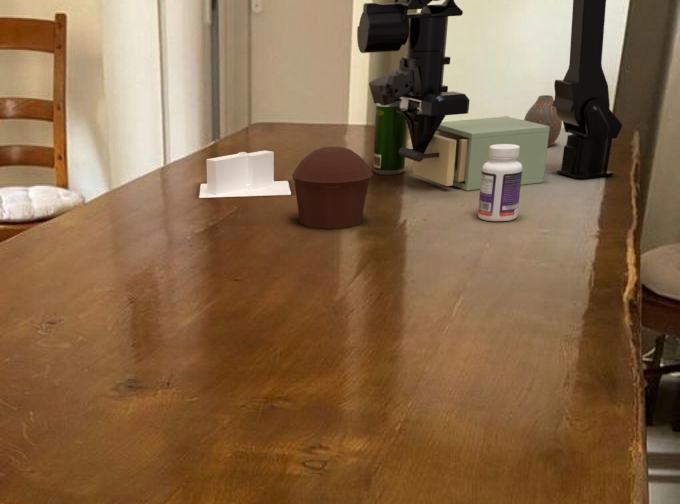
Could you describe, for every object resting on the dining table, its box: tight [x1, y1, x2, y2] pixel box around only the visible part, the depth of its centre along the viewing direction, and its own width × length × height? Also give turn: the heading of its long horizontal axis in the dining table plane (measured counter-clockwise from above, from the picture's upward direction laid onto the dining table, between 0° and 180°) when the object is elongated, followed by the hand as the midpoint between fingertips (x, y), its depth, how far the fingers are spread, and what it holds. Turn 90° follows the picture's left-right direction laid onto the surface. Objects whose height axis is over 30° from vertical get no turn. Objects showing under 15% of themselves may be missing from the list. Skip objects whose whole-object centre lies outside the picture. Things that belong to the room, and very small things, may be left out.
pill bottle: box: [477, 144, 522, 222], centre depth 141 cm, size 5×5×10 cm
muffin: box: [291, 146, 374, 230], centre depth 143 cm, size 12×11×10 cm
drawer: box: [399, 131, 469, 187], centre depth 163 cm, size 17×11×7 cm
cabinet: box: [436, 115, 550, 191], centre depth 164 cm, size 14×13×9 cm
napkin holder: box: [198, 150, 292, 199], centre depth 166 cm, size 15×11×6 cm
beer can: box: [372, 101, 408, 176], centre depth 172 cm, size 5×5×12 cm
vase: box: [523, 94, 563, 148], centre depth 189 cm, size 7×7×9 cm
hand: (418, 156), depth 161 cm, fingers closed, pressing on drawer
